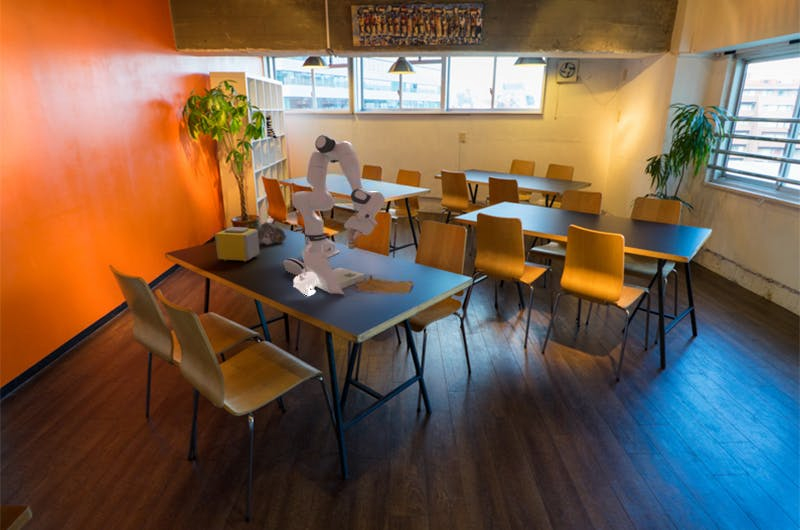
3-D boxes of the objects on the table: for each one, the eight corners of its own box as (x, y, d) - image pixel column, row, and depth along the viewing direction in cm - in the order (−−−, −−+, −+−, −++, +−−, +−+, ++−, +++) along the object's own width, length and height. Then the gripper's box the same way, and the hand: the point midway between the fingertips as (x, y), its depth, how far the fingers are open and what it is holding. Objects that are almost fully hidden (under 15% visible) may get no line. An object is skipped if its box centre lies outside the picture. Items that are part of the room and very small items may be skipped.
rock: (267, 221, 292) (265, 212, 304) (252, 237, 294) (251, 228, 306) (289, 237, 302) (286, 228, 314) (275, 253, 304) (273, 243, 316)
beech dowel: (351, 247, 249) (350, 228, 246) (355, 248, 247) (355, 229, 244) (347, 248, 246) (346, 229, 243) (351, 249, 244) (351, 230, 241)
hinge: (312, 276, 241) (305, 260, 236) (305, 281, 238) (298, 265, 233) (293, 269, 252) (287, 254, 247) (287, 273, 249) (280, 258, 244)
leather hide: (346, 292, 223) (346, 283, 220) (381, 274, 242) (381, 266, 239) (391, 313, 207) (391, 303, 205) (425, 292, 226) (426, 283, 223)
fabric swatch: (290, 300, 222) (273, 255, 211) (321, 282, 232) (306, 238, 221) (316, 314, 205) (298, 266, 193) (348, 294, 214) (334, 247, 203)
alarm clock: (261, 256, 276) (258, 226, 270) (248, 264, 261) (245, 232, 255) (231, 254, 279) (228, 225, 273) (217, 262, 264) (213, 231, 259)
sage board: (340, 272, 246) (340, 267, 245) (364, 279, 236) (364, 274, 235) (315, 281, 233) (314, 275, 232) (340, 289, 222) (339, 283, 221)
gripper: (350, 211, 253) (336, 230, 250) (372, 216, 238) (357, 237, 235) (357, 218, 257) (343, 237, 254) (379, 223, 242) (364, 244, 239)
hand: (350, 237), depth 244 cm, fingers closed on beech dowel, 3 cm apart
